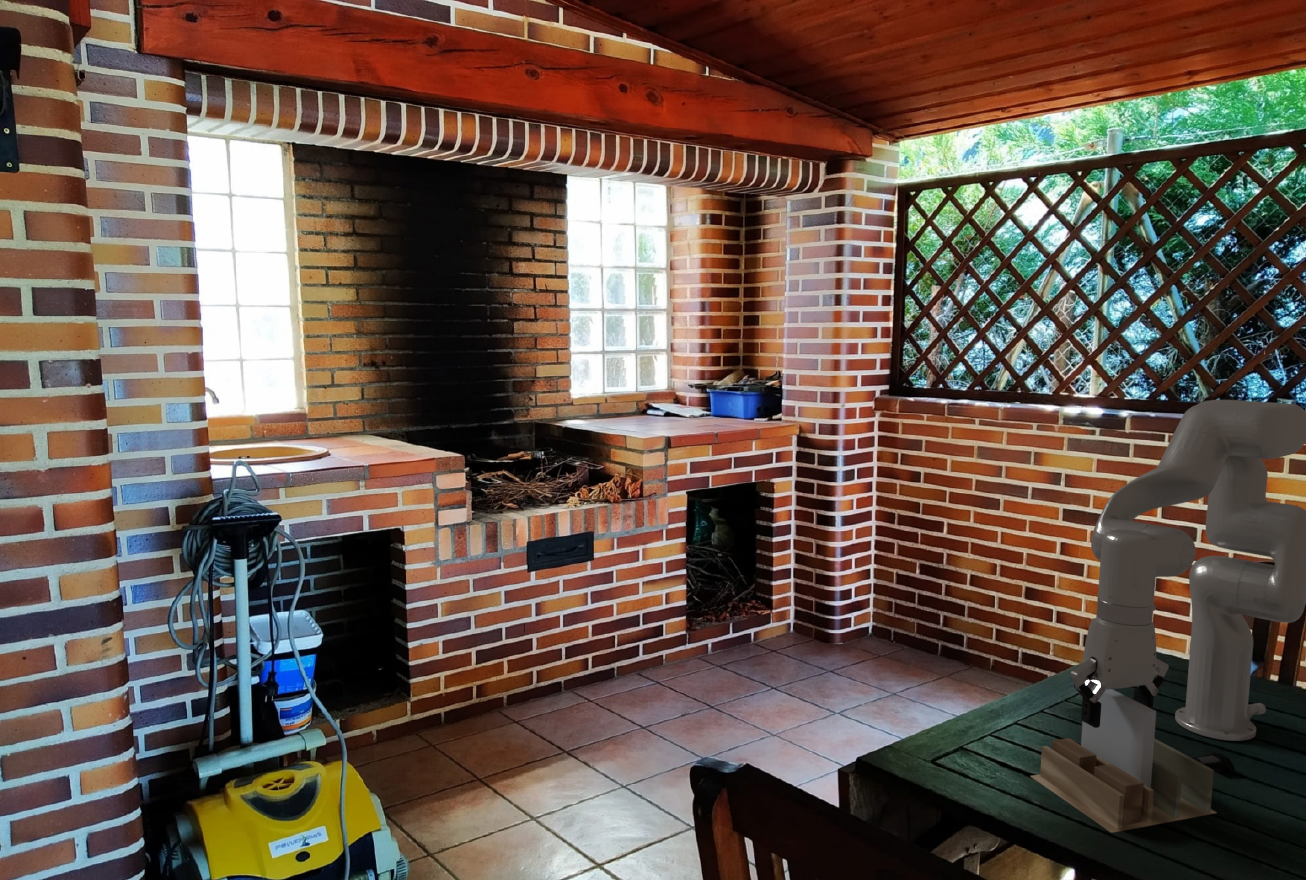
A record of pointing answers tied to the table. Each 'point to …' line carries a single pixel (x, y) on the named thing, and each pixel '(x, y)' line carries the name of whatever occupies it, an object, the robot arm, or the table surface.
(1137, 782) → the offcut
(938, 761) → the table surface
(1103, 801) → the rack
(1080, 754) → the offcut
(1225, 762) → the electric trimmer
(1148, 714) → the sheet
